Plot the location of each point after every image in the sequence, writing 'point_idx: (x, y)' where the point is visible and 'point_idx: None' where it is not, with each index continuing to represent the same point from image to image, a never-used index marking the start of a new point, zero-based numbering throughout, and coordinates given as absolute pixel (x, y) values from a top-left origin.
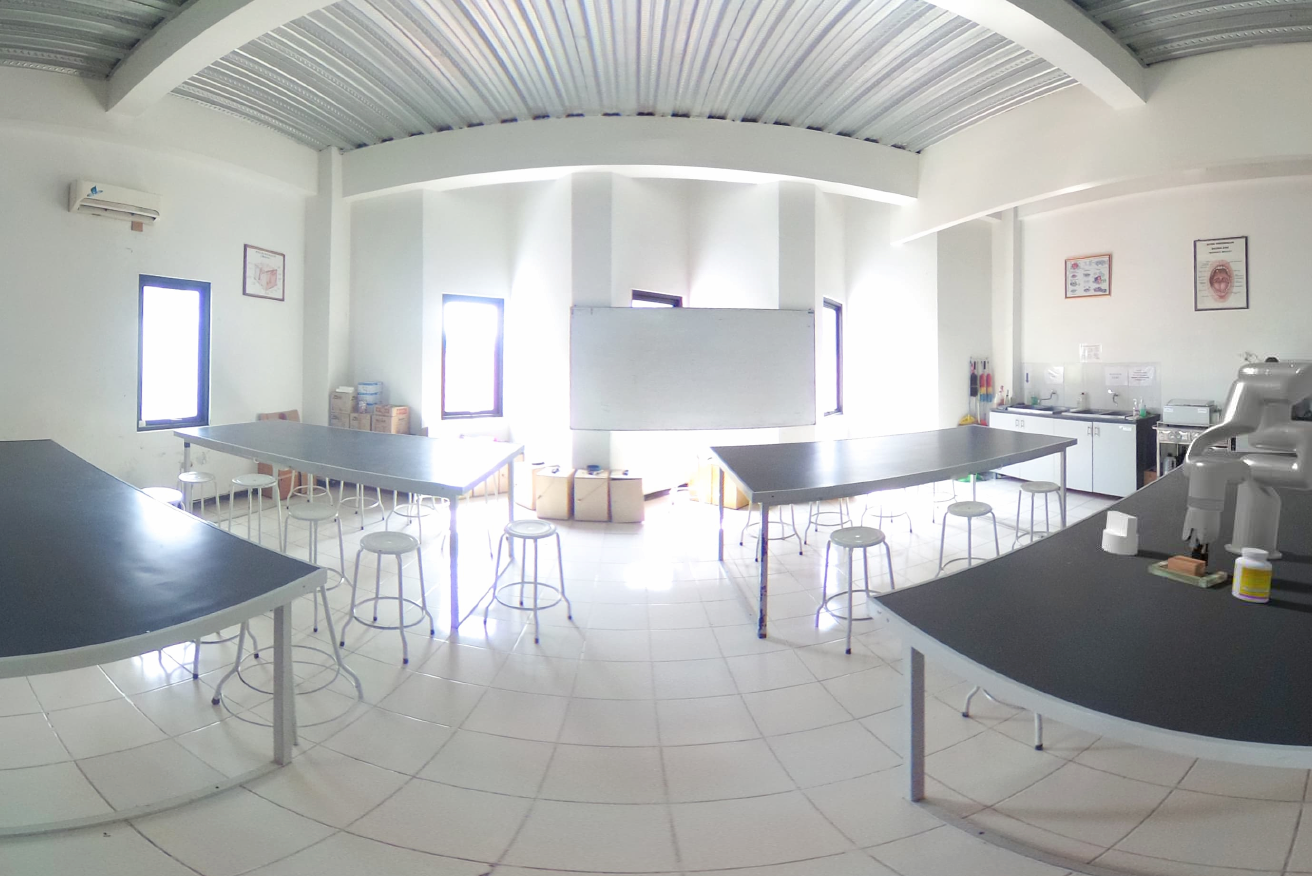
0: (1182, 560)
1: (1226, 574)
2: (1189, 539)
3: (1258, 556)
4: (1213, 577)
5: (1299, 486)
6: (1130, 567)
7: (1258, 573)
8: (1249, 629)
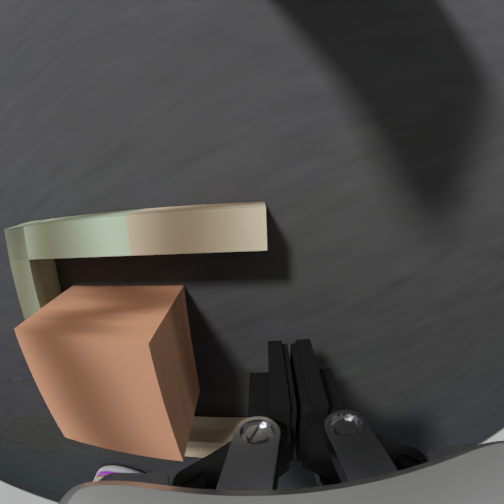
0: (63, 389)
1: None
2: (280, 491)
3: None
4: None
5: None
6: (32, 131)
7: None
8: (6, 462)
